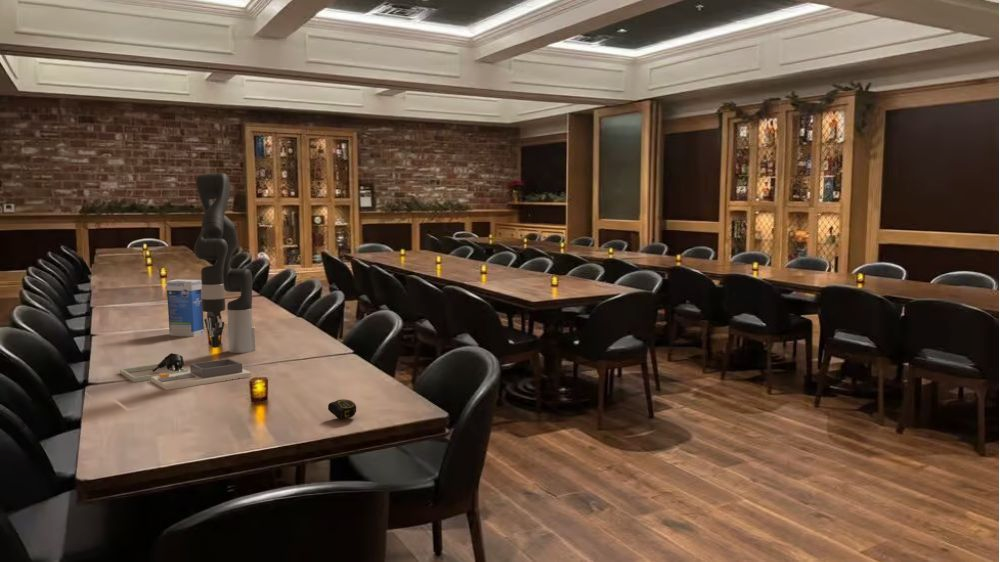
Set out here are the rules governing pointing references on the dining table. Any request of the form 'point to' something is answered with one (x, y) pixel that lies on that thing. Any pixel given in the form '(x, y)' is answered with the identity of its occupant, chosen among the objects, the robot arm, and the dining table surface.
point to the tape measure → (342, 408)
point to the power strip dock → (202, 374)
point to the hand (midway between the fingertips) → (215, 347)
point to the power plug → (171, 362)
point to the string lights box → (185, 308)
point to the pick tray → (141, 368)
